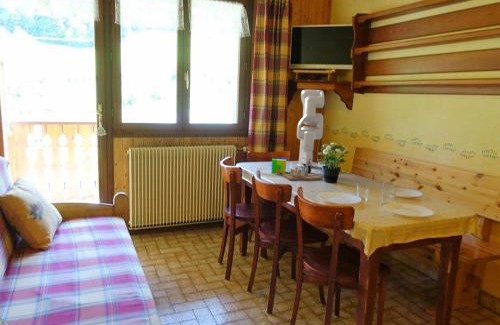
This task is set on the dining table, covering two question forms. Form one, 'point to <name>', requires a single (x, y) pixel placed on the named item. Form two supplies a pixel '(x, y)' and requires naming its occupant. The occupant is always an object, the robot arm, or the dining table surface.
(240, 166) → the dining table surface
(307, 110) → the robot arm
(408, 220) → the dining table surface
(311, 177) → the gear board
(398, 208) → the dining table surface
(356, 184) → the dining table surface
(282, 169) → the puzzle toy
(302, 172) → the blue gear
